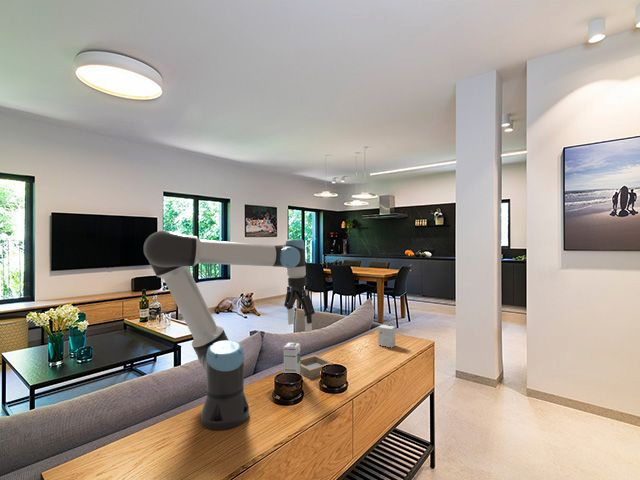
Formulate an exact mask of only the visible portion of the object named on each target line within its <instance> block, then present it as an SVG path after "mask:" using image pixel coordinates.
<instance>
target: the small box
mask: <svg viewBox="0 0 640 480" xmlns="http://www.w3.org/2000/svg"><path fill="white" fill-rule="evenodd" d="M377 330H378V332H377V335H378V336H377V339H378V340H377V341H378V344H377V345H381V346H380V347H382V346H386V347H385V348H387V347H393V348H394V347H395V346H396V326H393V325H387V324H386V325H385V324H381V325H379V326H378V327H377Z"/></svg>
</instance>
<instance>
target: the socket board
mask: <svg viewBox="0 0 640 480" xmlns="http://www.w3.org/2000/svg"><path fill="white" fill-rule="evenodd" d="M300 360H301V375H302V376H303V377H305V378H307V377H308V378H307V379H314V378H316V377H319V376H321V375H320V371H321V368H322V367H324V366H326V365H333V366H334V362H332V361H329V360H327V359H325V358H323V357H321V356H319V355H316V354H313V355H310V356H307V357H306V356H305V357H302V358H300Z"/></svg>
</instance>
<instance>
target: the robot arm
mask: <svg viewBox="0 0 640 480" xmlns="http://www.w3.org/2000/svg"><path fill="white" fill-rule="evenodd" d="M143 243H144V244H143V254H144V257H146V259H147V260H148V263H149V265H150V266H151V268H152V270H153V273H154V274H155V276H156V277H157V278H161V279H163V280H164V283H165V285H166V286H167V289H168V290H169V293H170V295H171V296H172V299H173V301H174V302H175V305H176V306H177V308H178V311H179V312H180V314H181V316H182V318H183V320H184V322H185V324H186V326H187V328H188V329H189V332H190V334H191V336H192V338H193V340H192V343H191V346H192V348H193V350H194V352H195V355H196V357H197V359H198V361H199V363H200V364H201V366H202V368H203V370H204V371H205V375H206V397H205V400H204V404H203V405H202V406H203V407H202V410H201V413H200V422H201V423H200V424H201V425H202V426H203V427H205V428H206V429H209V430H212V431H224V430H229V429H233V428H236V427H238V426H240V425H242V424H243V423H245V422H246V421H247V420H248V419H249V416H250V406H249V403H248V400H247V397H246V395H245V391H244V387H245V385H244V384H245V383H244V382H245V381H244V379H245V378H244V376H245V375H244V373H245V369H244V368H245V365H244V363H245V353H244V347H243V345H242V344H241V343H239V342H238V341H233V340H229V337H228V336H227V334H226V332H225V330H224V327H222V326H218V325H217V324H216V322H215V319H214V317H213V315H212V314H211V312H210V309H209V308H208V305H207V304H206V301H205V299H204V297H203V295H202V293H201V290H200V289H199V287H198V285H197V282H196V281H195V279H194V276H193V275H192V273H191V270H190V269H189V267H195V266H196V265H198V264H205V265H206V264H207V265H210V264H211V265H229V266H230V265H231V266H232V265H233V266H234V265H235V266H254V267H255V266H259V267H272V268H273V267H275V268H276V267H279V268H286V270H287V276H288V278H287V285H288V286H286V293H285V294H286V295H285V299H284V307H285V308H286V309H287V321H288V322H287V324H288V325H293V324H295V308H294V307H295V306H294V305H295V303H296V300H297V301H298V302H299V303H300V304H301V307H302V309H303V312H304V332H305V333H309V332H312V331H313V325H312V324H313V323H312V319H313V318H312V316H313V315H315V314H316V312H315V309H314V305H313V301H312V299H311V295H310V289H305V286H307V277H306V275H307V272H306V271H307V269H306V268H307V267H306V249H305V241H304V240H303V239H302V238H296V239H295V238H293V239H292V238H290V239H287V240H285V244H279V245H276V244H275V245H274V244H273V245H272V244H262V243H261V244H260V243H249V242H237V241H236V242H235V241H224V240H222V241H221V240H209V239H200V238H199V237H198V235H190V234H182V233H179V232H175V231H171V230H158V231H155V232H154V233H152V234H150V235H149V236H148V237H147V238H146V239H145V241H144V242H143Z"/></svg>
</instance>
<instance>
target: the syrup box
mask: <svg viewBox="0 0 640 480" xmlns="http://www.w3.org/2000/svg"><path fill="white" fill-rule="evenodd" d="M282 348H283V374H284V373H297V374H300V375H302V374H301V360H300V359H301V343H299V342H287V343H286V344H285V345H284V346H283V347H282Z"/></svg>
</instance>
